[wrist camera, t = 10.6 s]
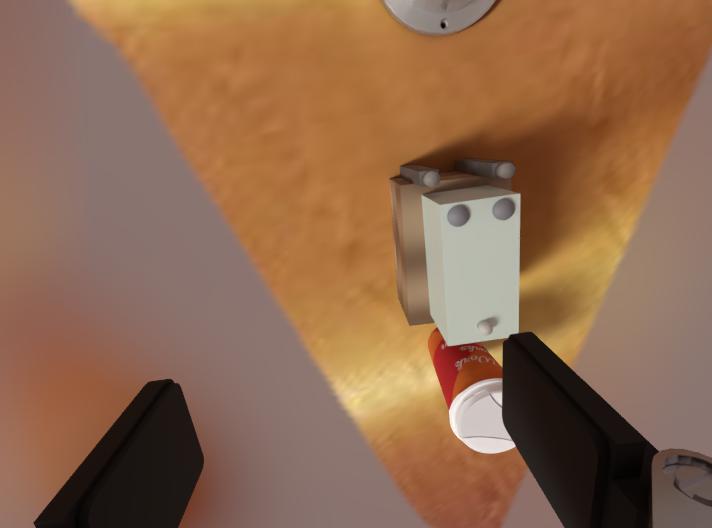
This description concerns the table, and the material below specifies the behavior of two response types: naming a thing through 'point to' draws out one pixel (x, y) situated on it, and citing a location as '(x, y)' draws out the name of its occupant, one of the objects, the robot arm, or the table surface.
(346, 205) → the table surface
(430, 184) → the brown boxy piece
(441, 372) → the paper cup
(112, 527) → the robot arm
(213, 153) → the table surface
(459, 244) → the white block with knobs
